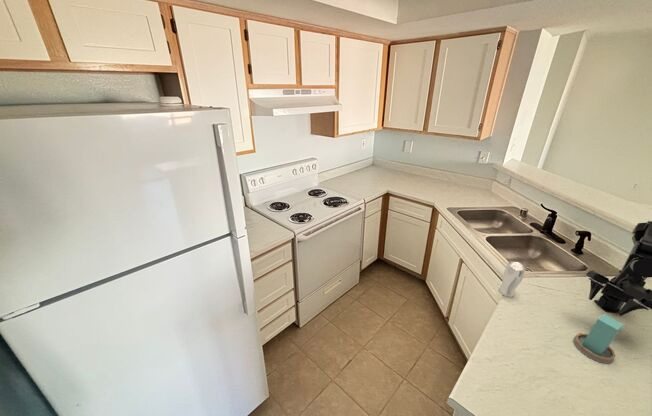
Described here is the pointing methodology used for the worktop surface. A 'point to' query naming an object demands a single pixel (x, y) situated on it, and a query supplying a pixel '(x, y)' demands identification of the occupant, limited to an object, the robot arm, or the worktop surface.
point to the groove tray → (604, 358)
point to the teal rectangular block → (602, 334)
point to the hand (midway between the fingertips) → (604, 307)
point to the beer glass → (511, 278)
